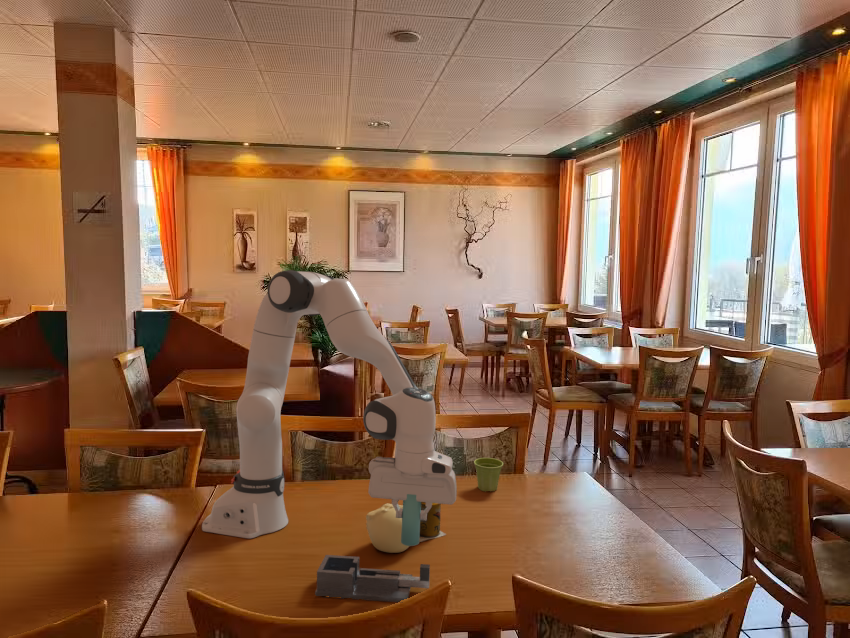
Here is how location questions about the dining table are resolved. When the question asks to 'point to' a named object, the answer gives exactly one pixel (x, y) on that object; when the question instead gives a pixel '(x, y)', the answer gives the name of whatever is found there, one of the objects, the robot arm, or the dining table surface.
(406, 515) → the peg
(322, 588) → the mount
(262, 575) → the dining table surface
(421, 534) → the condiment
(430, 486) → the robot arm
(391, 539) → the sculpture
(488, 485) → the plant pot
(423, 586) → the pin
